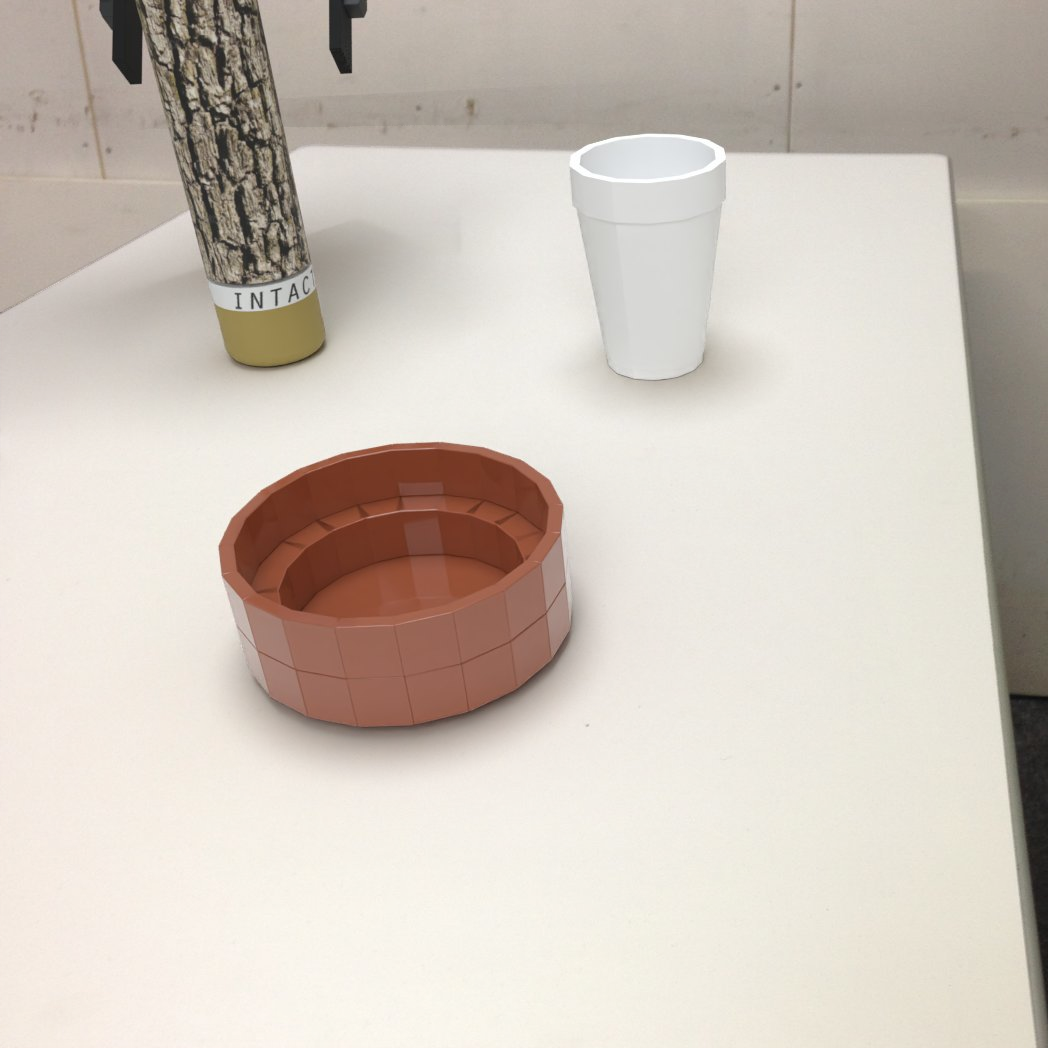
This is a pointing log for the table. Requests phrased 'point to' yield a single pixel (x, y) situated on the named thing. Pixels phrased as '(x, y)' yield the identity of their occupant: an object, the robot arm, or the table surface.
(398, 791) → the table surface
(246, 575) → the bowl
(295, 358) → the paper tube
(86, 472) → the table surface
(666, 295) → the foam cup
